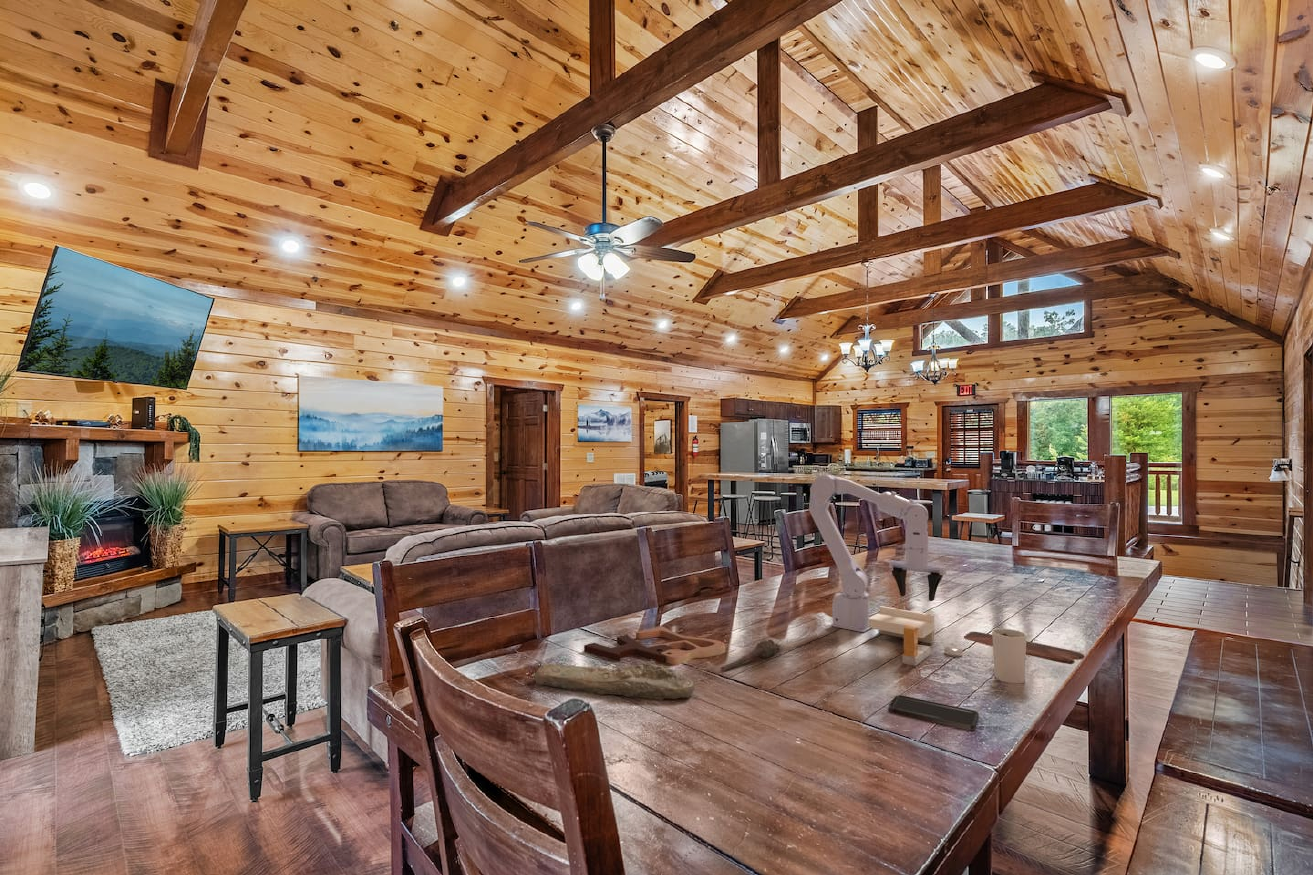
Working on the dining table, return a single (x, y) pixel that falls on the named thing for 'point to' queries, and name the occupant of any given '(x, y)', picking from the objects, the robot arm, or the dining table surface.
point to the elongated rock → (618, 680)
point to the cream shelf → (903, 623)
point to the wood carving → (659, 647)
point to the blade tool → (914, 647)
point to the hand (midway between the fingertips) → (917, 597)
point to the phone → (934, 712)
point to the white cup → (1009, 655)
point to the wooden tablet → (1032, 648)
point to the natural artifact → (755, 653)
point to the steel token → (953, 651)
